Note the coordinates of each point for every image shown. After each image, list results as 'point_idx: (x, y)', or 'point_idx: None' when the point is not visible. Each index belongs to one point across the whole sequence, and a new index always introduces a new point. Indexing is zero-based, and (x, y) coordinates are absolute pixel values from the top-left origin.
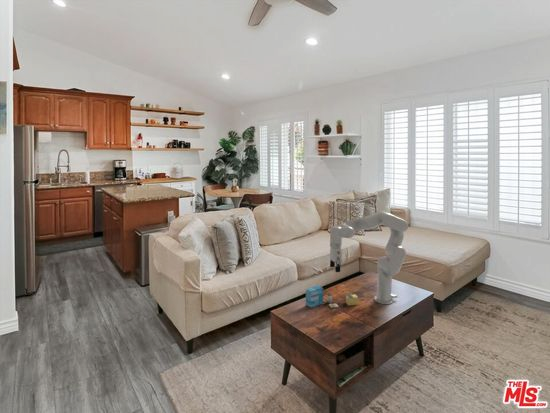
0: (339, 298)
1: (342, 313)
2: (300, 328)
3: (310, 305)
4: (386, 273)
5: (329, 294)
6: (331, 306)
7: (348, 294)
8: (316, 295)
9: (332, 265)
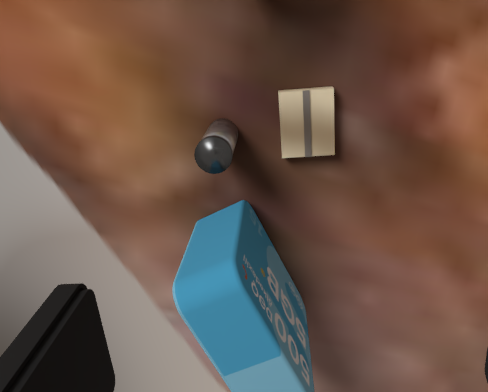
0: (146, 12)
1: (446, 82)
2: None
3: (304, 312)
4: None
5: (217, 159)
6: (328, 150)
7: None
8: (279, 308)
9: (90, 374)
